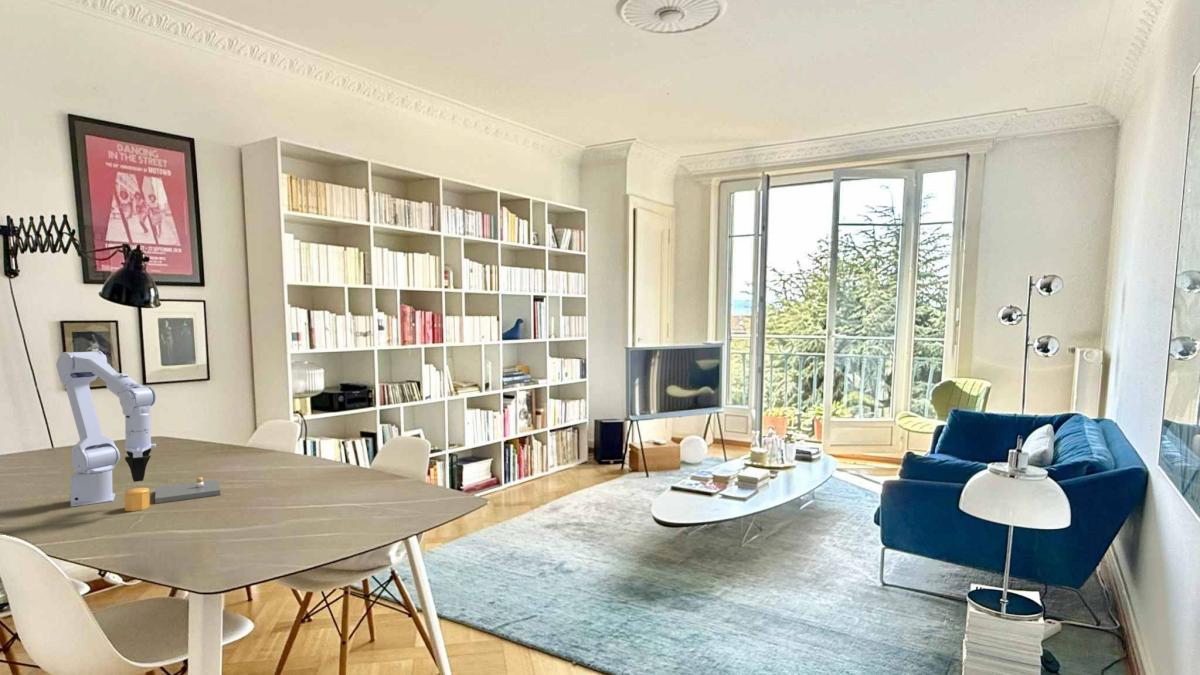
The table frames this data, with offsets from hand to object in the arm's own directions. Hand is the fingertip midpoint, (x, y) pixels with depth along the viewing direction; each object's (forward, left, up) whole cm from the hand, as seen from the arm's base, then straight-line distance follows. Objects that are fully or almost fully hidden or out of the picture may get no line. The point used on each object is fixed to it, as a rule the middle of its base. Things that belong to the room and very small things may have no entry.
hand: (138, 477), depth 172 cm
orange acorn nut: (0, 0, -8) cm, 8 cm away
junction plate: (+12, +9, -8) cm, 17 cm away
